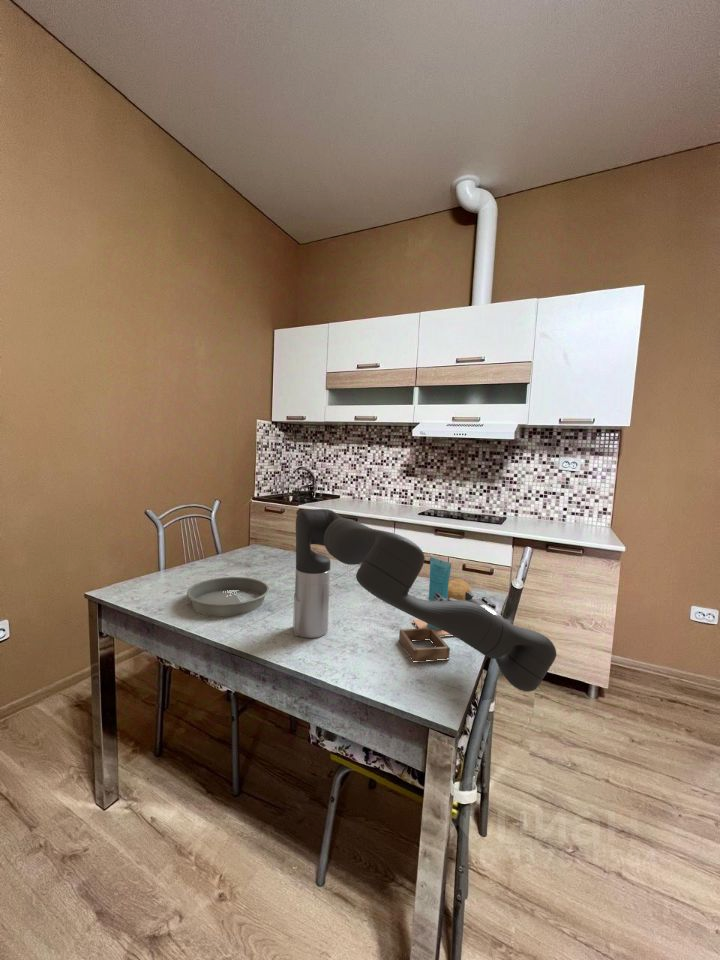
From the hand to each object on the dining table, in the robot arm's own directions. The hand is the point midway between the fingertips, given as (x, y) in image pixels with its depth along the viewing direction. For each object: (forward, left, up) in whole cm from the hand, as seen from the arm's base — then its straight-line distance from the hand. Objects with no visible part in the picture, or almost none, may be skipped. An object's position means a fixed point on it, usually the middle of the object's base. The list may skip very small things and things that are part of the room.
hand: (451, 595), depth 107 cm
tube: (0, +8, -12) cm, 15 cm away
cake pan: (-58, +34, -13) cm, 69 cm away
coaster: (0, +8, -13) cm, 15 cm away
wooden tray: (-8, -3, -13) cm, 15 cm away
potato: (+13, +23, -13) cm, 30 cm away
